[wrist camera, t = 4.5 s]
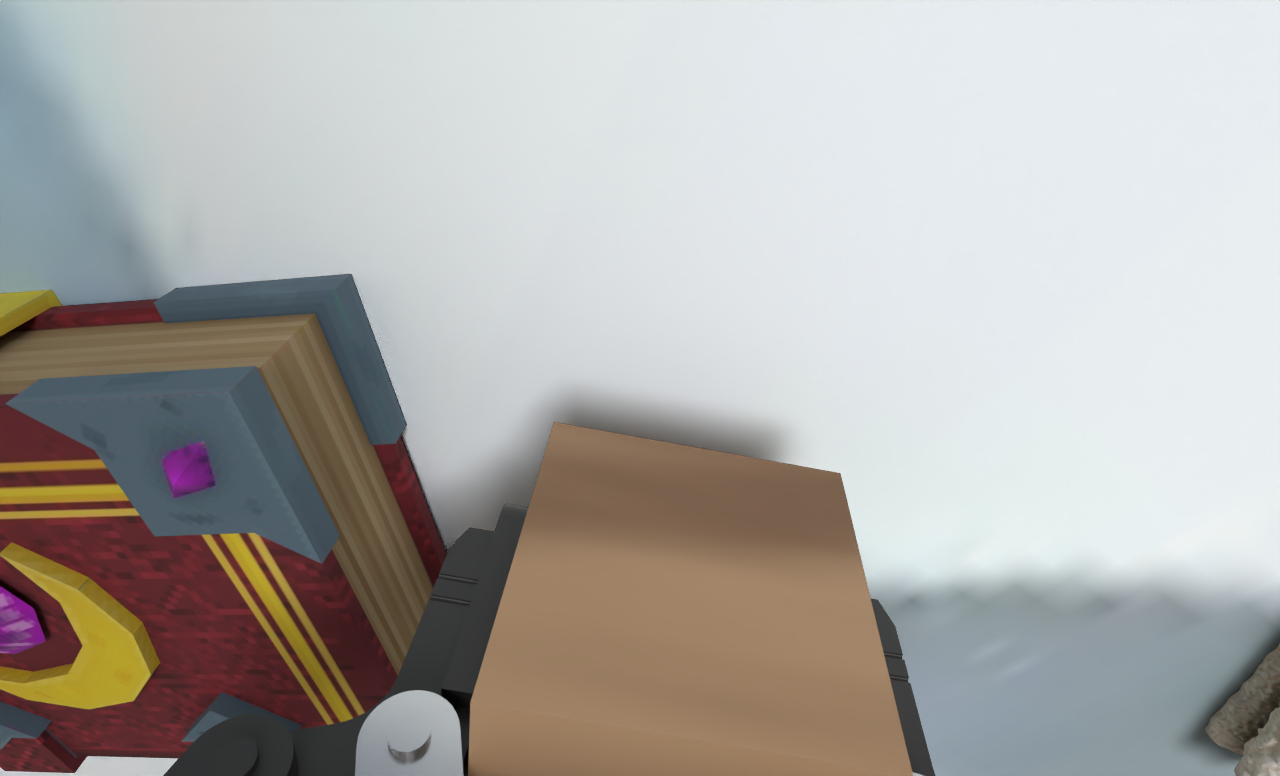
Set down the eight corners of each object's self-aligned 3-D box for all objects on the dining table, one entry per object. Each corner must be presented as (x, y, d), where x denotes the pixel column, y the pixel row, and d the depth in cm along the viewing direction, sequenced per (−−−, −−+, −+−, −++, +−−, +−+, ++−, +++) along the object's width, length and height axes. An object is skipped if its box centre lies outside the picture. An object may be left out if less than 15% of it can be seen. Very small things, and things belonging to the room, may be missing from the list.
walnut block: (554, 422, 11) (469, 702, 7) (840, 473, 12) (912, 776, 8) (533, 602, 14) (465, 875, 10) (762, 641, 14) (784, 926, 10)
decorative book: (488, 620, 20) (431, 801, 16) (10, 621, 22) (-151, 782, 18) (355, 261, 14) (204, 405, 9) (-296, 310, 16) (-655, 447, 11)
